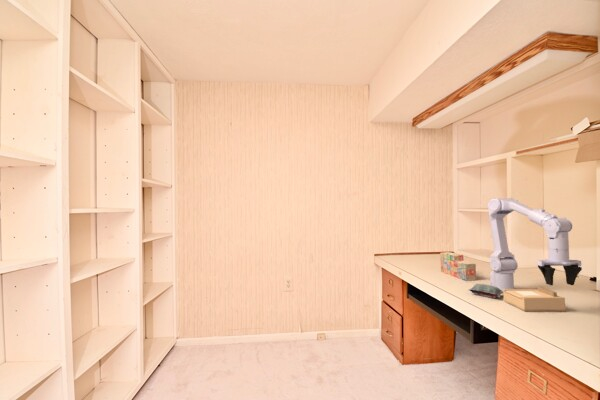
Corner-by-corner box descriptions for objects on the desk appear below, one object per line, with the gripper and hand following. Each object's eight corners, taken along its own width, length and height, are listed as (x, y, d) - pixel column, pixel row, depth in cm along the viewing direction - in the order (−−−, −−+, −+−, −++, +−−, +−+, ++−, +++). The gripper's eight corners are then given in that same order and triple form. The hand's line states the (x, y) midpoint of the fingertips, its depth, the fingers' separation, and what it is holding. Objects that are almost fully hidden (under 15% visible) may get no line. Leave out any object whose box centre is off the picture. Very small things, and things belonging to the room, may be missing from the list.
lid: (505, 291, 111) (505, 286, 111) (542, 291, 111) (542, 286, 111) (521, 298, 103) (521, 293, 103) (561, 298, 102) (561, 292, 102)
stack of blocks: (476, 280, 144) (475, 258, 145) (465, 281, 144) (465, 258, 144) (449, 271, 166) (449, 251, 166) (440, 271, 165) (439, 252, 165)
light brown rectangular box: (503, 301, 112) (503, 289, 113) (540, 301, 112) (539, 289, 112) (524, 311, 101) (524, 298, 102) (565, 311, 101) (564, 297, 101)
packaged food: (475, 290, 128) (475, 280, 128) (505, 296, 119) (505, 285, 119) (468, 294, 122) (468, 284, 123) (499, 301, 113) (499, 290, 113)
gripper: (547, 251, 99) (549, 287, 99) (588, 250, 98) (590, 287, 98) (532, 248, 106) (533, 282, 106) (570, 247, 105) (572, 282, 105)
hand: (559, 284), depth 102 cm, fingers open, 7 cm apart
